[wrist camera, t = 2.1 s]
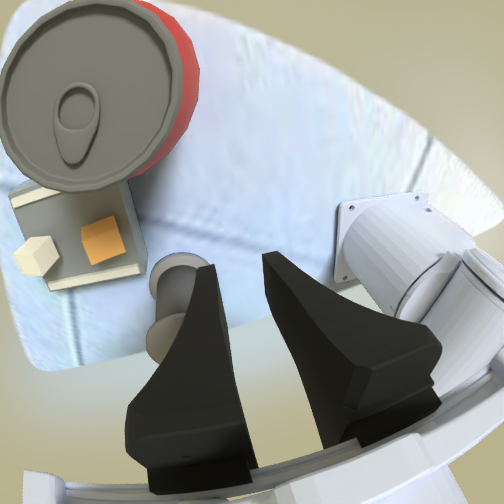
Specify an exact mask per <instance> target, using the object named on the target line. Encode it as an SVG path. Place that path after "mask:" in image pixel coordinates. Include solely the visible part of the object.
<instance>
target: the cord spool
mask: <svg viewBox="0 0 504 504" xmlns="http://www.w3.org/2000/svg"><path fill="white" fill-rule="evenodd" d="M207 265H210V264H209V263H208V262H207V261H206V260H204V259H203V258H201V257H200V256H198V255H195V254H192V253H185V252H180V253H173V254H170V255H167V256H165V257H163V258H162V259H160V260H159V261H158V262H157V263H156V264H155V266H154V267H153V269H152V271H151V275H150V291H151V294H152V296H153V297H154V299H155V300H156V322H155V323H154V324H153V325H152V326H151V327H150V329H149V330H148V333H147V336H146V349H147V352H148V354H149V356H150V357H151V358H152V359H153V360H154V361H155V362H157V363H158V364H161V362H162V360H163V359H164V357H165V356H166V354H167V352H168V350H169V348H170V347H171V345H172V343H173V341H174V339H175V337H176V335H177V333H178V331H179V328H180V326H181V324H182V321H183V319H184V316H185V313H186V311H187V308H188V305H189V302H190V298H191V295H192V292H193V288H194V283H195V278H196V270H197V269H198V267H202V266H207Z"/></svg>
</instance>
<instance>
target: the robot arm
mask: <svg viewBox="0 0 504 504" xmlns="http://www.w3.org/2000/svg"><path fill="white" fill-rule="evenodd" d="M416 196H417V197H416ZM415 197H416V198H415ZM427 201H428V193H427V192H426V191H417V192H409V193H401V194H394V195H387V196H380V197H373V198H366V199H359V200H352V201H346V202H342V203H341V204H340V206H339V213H338V231H337V246H336V260H335V272H334V280H335V282H336V283H343V282H347V281H350V280H354V279H358V280H359V281H360V282H361V284H362V285H363V286H364V288H365V289H366V290H367V292H368V293H369V294H370V296H371V297H372V298H373V300H374V301H375V302H376V303H377V305H378V306H379V308H380V309H381V310H382V312H383V313H384V314H382V313H379V312H376V311H373V310H371V309H369V308H366V307H364V306H361V305H359V304H357V303H354V302H352V301H350V300H348V299H346V298H344V297H343V296H340V295H339V294H337V293H335V292H333V291H332V290H330V289H328V288H327V287H325V286H324V285H322V284H320V283H319V282H317V281H316V280H314V279H313V278H312V277H310V276H309V275H308V274H306V273H305V272H303V271H302V270H301V269H299V268H298V267H297V266H296V265H294V264H293V263H292V262H291V261H289V260H288V259H287V258H286V257H284V256H283V255H282V254H281V253H279V252H278V251H274V252H270V253H265V254H262V261H263V273H264V285H265V295H266V298H267V301H268V304H269V307H270V310H271V313H272V316H273V318H274V320H275V322H276V324H277V326H278V328H279V330H280V332H281V334H282V336H283V338H284V340H285V343H286V344H287V347H288V349H289V351H290V353H291V355H292V357H293V359H294V361H295V363H296V366H297V369H298V372H299V374H300V377H301V380H302V383H303V386H304V388H305V391H306V394H307V397H308V400H309V403H310V406H311V409H312V412H313V416H314V418H315V422H316V425H317V428H318V432H319V435H320V439H321V442H322V445H323V449H324V450H321V451H318V452H315V453H312V454H309V455H306V456H302V457H299V458H296V459H292V460H289V461H285V462H282V463H278V464H274V465H270V466H266V467H262V468H259V467H258V464H257V460H256V457H255V453H254V450H253V446H252V443H251V439H250V436H249V432H248V428H247V424H246V421H245V417H244V413H243V409H242V406H241V402H240V398H239V394H238V390H237V386H236V382H235V377H234V372H233V365H232V357H231V350H230V342H229V335H228V327H227V321H226V317H225V312H224V307H223V302H222V298H221V293H220V288H219V283H218V278H217V273H216V269H215V265H214V264H212V265H207V266H202V267H198V269H197V270H196V278H195V283H194V288H193V292H192V295H191V298H190V302H189V305H188V308H187V311H186V313H185V316H184V319H183V321H182V324H181V326H180V328H179V331H178V333H177V335H176V337H175V339H174V341H173V343H172V345H171V347H170V348H169V350H168V352H167V354H166V356H165V357H164V359H163V360H162V362H161V364H160V365H159V367H158V368H157V369H156V371H155V372H154V374H153V375H152V377H151V378H150V380H149V381H148V382H147V384H146V385H145V386H144V387H143V388H142V390H141V391H140V392H139V393H138V394H137V396H136V397H135V398H134V399H133V400H132V401H131V403H130V404H129V405H128V409H127V414H126V421H125V448H126V452H127V453H128V454H129V456H131V457H132V458H133V459H134V460H136V461H137V462H138V463H140V464H141V465H143V466H144V467H145V468H147V473H148V484H95V483H79V482H67V481H64V480H63V479H61V478H60V477H58V476H56V475H53V474H50V473H45V472H38V471H32V470H24V478H23V504H468V503H467V501H466V499H465V497H464V495H463V493H462V492H461V489H460V488H459V486H458V484H457V482H456V480H455V478H454V476H453V475H452V472H451V471H450V469H449V467H448V464H449V463H451V462H452V461H454V460H455V459H457V458H458V457H460V456H461V455H462V454H464V453H465V452H466V451H468V450H469V449H470V448H472V447H473V446H474V445H475V444H477V443H478V442H479V441H481V440H482V439H483V438H485V437H486V436H487V435H488V434H489V433H491V432H492V431H493V430H494V429H495V428H496V427H498V426H499V425H500V424H501V423H502V422H503V423H504V266H503V265H502V264H500V263H499V262H498V261H496V260H495V259H494V258H493V257H491V256H490V255H489V254H487V253H485V252H484V251H483V250H481V249H479V248H477V246H476V244H475V242H474V240H473V238H472V237H471V235H470V234H469V233H468V232H467V231H466V230H465V229H463V228H462V227H461V226H459V225H458V224H457V223H455V222H454V221H453V220H451V219H450V218H449V217H447V216H446V215H445V214H443V213H442V212H440V211H439V210H438V209H436V208H435V207H433V206H432V205H430V204H429V203H427ZM351 205H352V208H351V209H349V207H350V206H351ZM344 276H345V277H344ZM343 277H344V278H343ZM273 488H274V489H273ZM268 489H273V490H270V491H267V492H263V493H260V494H256V495H252V496H249V497H245V498H241V499H237V500H233V501H229V500H227V499H226V498H229V497H235V496H241V495H246V494H251V493H255V492H260V491H264V490H268Z"/></svg>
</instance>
